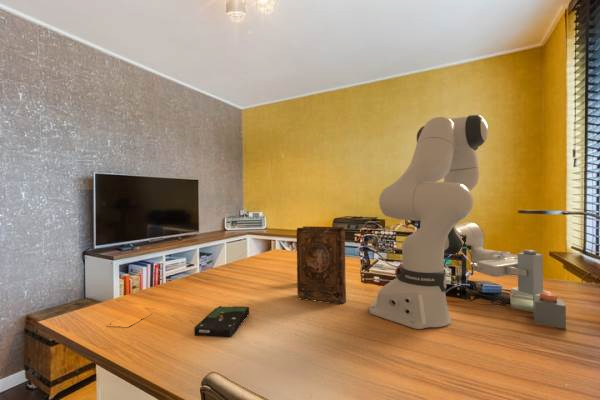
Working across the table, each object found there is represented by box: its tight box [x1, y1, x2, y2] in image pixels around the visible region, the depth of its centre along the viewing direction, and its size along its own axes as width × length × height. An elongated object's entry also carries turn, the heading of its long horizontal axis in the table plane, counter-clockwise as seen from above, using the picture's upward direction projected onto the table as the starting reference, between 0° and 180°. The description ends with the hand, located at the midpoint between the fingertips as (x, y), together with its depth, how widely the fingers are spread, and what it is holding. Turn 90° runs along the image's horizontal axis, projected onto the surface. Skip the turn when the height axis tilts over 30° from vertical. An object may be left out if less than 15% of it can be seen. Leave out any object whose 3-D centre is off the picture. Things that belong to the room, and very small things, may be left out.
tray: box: [509, 293, 533, 313], centre depth 86 cm, size 10×10×2 cm
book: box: [296, 225, 347, 305], centre depth 96 cm, size 16×6×25 cm, turn 68°
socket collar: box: [510, 286, 553, 297], centre depth 95 cm, size 8×8×2 cm
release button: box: [540, 292, 558, 302], centre depth 76 cm, size 4×4×6 cm
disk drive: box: [193, 305, 250, 339], centre depth 78 cm, size 10×3×15 cm
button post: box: [532, 295, 567, 330], centre depth 76 cm, size 6×6×6 cm
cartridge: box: [517, 249, 544, 295], centre depth 86 cm, size 4×4×13 cm
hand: (533, 272), depth 85 cm, fingers closed on cartridge, 4 cm apart
